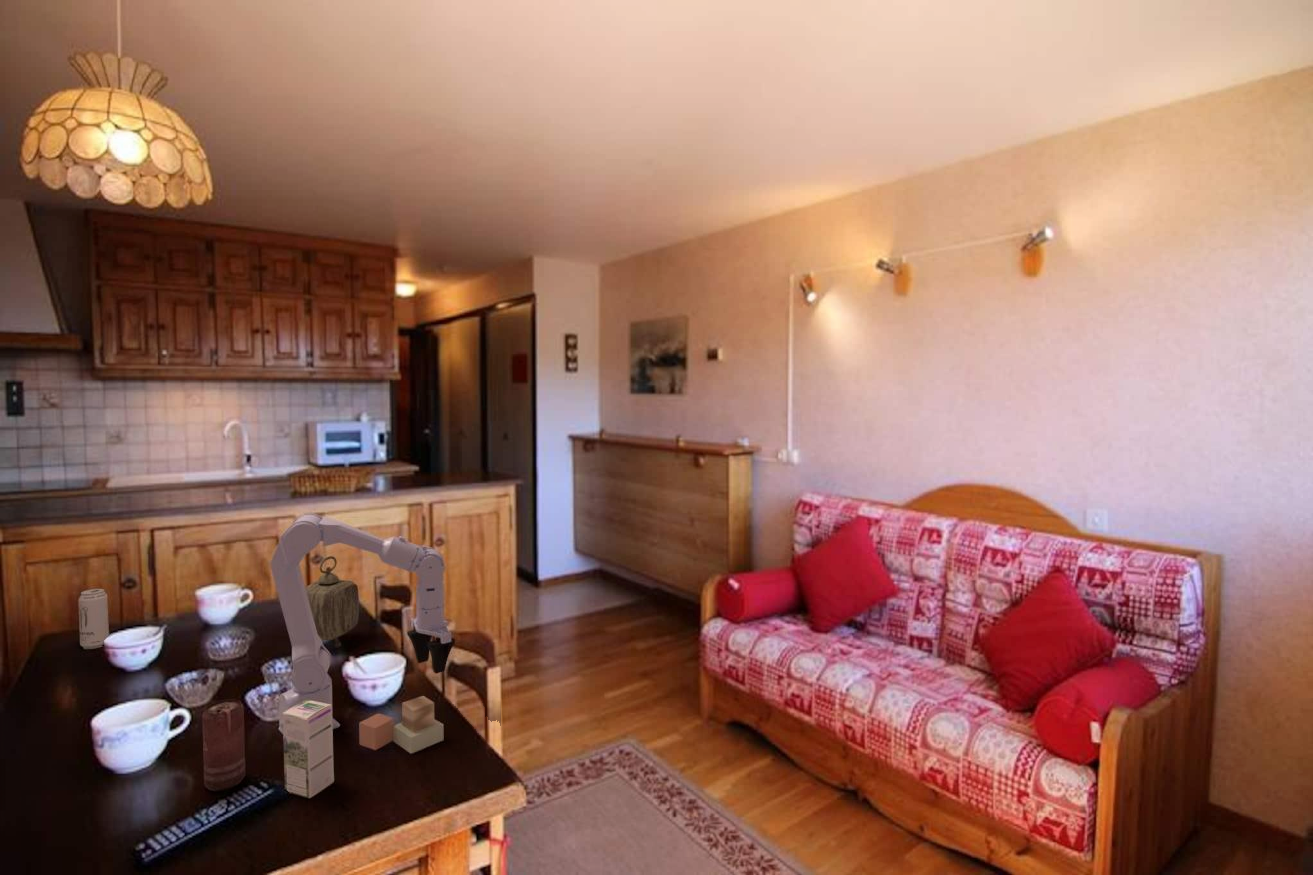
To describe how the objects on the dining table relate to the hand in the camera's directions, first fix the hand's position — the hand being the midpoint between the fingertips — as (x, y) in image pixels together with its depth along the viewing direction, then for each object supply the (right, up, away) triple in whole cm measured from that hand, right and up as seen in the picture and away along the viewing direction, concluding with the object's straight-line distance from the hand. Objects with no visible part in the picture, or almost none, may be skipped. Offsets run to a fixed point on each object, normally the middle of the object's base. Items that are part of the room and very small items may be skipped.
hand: (431, 666), depth 146 cm
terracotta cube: (-6, -11, -13) cm, 18 cm away
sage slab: (+2, -11, -12) cm, 16 cm away
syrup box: (-12, -12, -28) cm, 33 cm away
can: (-27, -12, -27) cm, 40 cm away
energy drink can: (-103, -7, +35) cm, 109 cm away
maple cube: (+2, -8, -12) cm, 14 cm away
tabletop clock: (-40, -7, +36) cm, 54 cm away
